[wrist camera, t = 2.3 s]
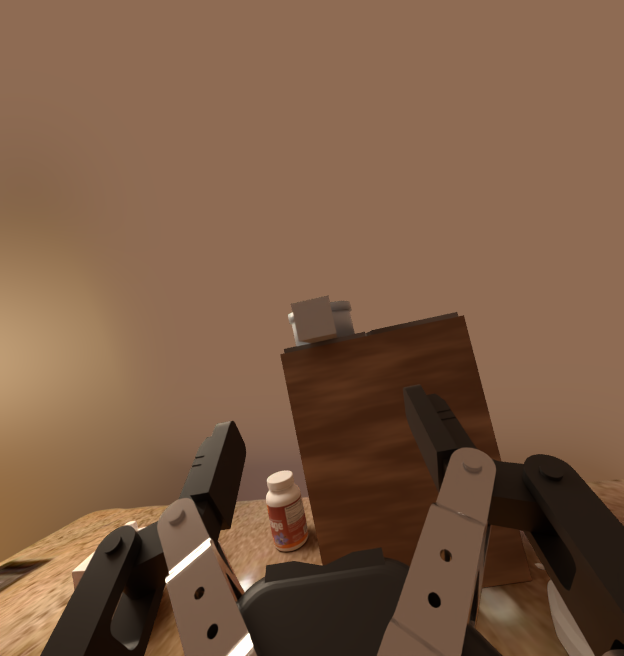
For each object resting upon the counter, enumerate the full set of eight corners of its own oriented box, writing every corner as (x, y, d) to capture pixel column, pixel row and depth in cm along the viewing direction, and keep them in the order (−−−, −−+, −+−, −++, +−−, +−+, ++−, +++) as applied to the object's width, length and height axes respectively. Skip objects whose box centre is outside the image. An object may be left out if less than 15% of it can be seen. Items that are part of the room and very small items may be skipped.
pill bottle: (268, 542, 52) (256, 479, 53) (297, 525, 55) (286, 466, 56) (284, 559, 47) (271, 488, 48) (315, 538, 50) (302, 473, 51)
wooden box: (333, 528, 52) (296, 349, 54) (470, 506, 50) (425, 321, 53) (331, 609, 36) (279, 349, 39) (532, 580, 34) (462, 310, 37)
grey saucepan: (299, 347, 49) (293, 319, 50) (355, 336, 49) (348, 307, 49) (266, 348, 27) (255, 295, 27) (369, 325, 26) (357, 272, 26)
